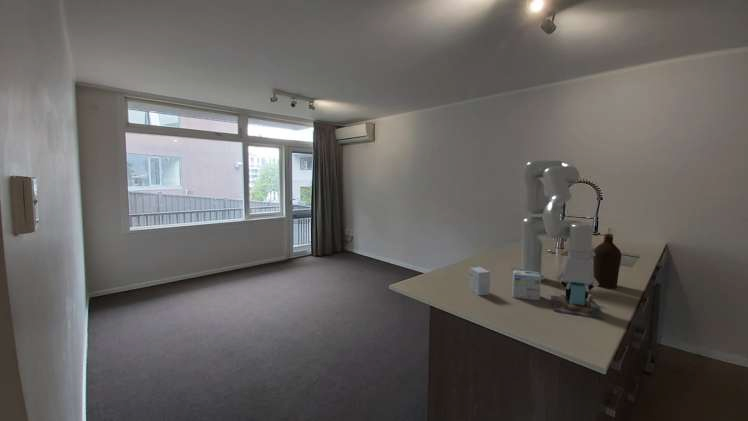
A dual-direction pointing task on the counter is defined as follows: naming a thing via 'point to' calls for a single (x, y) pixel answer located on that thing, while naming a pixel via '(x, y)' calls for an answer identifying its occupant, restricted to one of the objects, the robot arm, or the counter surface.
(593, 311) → the board
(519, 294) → the light bulb box
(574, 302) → the teal block
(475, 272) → the small box
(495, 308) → the counter surface
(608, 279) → the olive oil
